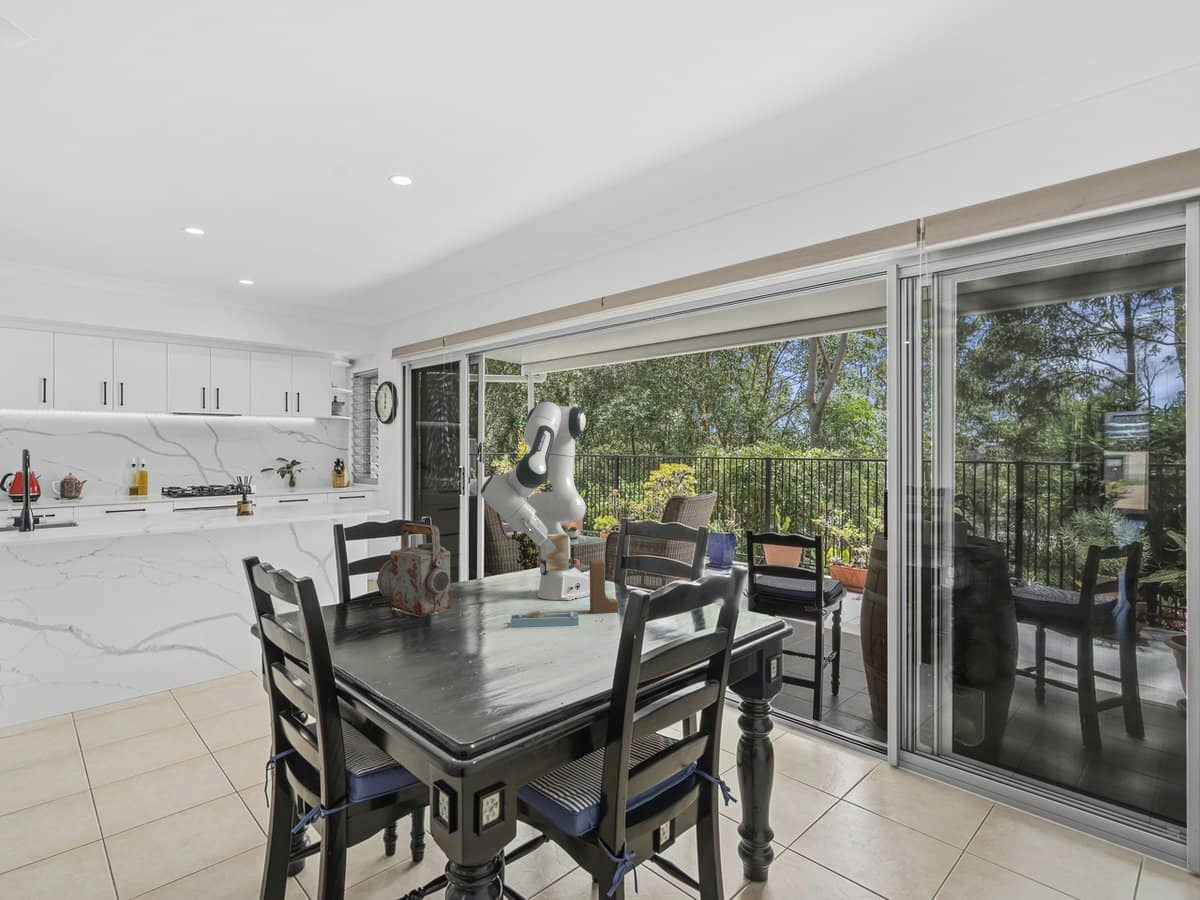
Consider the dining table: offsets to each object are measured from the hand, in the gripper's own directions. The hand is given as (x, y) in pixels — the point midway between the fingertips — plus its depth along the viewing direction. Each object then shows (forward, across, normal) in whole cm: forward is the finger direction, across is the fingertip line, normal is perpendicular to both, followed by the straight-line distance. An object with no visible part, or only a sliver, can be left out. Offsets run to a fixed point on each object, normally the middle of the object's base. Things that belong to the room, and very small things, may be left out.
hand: (554, 548), depth 200 cm
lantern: (-16, +26, +52) cm, 60 cm away
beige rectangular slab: (+6, 0, +4) cm, 7 cm away
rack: (+15, 0, +20) cm, 25 cm away
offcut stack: (+12, 0, +22) cm, 25 cm away
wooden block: (+29, +13, +6) cm, 33 cm away
